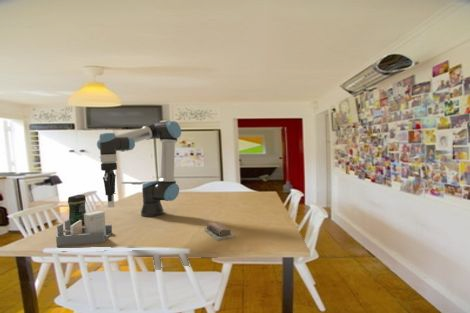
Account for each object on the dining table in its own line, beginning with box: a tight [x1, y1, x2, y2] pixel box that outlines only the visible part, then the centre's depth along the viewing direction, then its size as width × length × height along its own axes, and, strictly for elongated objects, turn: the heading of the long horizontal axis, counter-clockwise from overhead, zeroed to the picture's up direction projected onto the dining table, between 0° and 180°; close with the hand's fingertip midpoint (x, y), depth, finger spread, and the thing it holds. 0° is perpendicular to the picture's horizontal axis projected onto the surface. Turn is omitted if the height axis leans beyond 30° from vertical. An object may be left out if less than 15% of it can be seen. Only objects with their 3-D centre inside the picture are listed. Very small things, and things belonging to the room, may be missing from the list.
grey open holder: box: [63, 220, 83, 235], centre depth 134 cm, size 9×10×8 cm
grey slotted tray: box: [55, 218, 113, 247], centre depth 135 cm, size 22×14×10 cm, turn 99°
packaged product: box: [203, 221, 235, 241], centre depth 138 cm, size 18×5×10 cm
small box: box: [83, 210, 106, 236], centre depth 135 cm, size 8×6×13 cm
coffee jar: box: [67, 194, 87, 226], centre depth 162 cm, size 10×8×19 cm
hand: (111, 206), depth 136 cm, fingers closed
